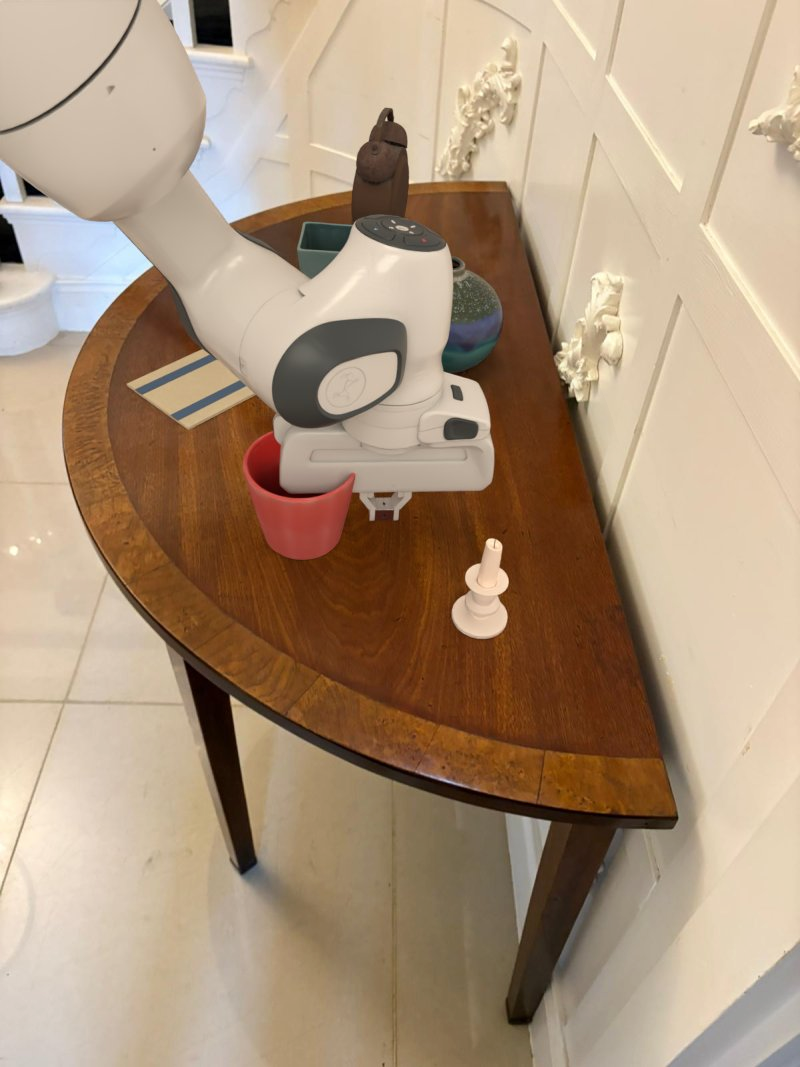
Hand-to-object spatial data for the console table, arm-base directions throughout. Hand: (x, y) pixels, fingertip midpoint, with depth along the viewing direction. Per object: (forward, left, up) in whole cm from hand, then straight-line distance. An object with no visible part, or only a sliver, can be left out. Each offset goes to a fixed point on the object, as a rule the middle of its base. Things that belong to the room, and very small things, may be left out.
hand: (383, 516), depth 79 cm
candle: (-2, -14, -2) cm, 14 cm away
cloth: (+6, +33, -2) cm, 34 cm away
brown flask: (+47, +45, -2) cm, 65 cm away
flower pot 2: (-6, +5, -2) cm, 8 cm away
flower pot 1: (+30, +38, -2) cm, 48 cm away
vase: (+29, +17, -2) cm, 34 cm away
